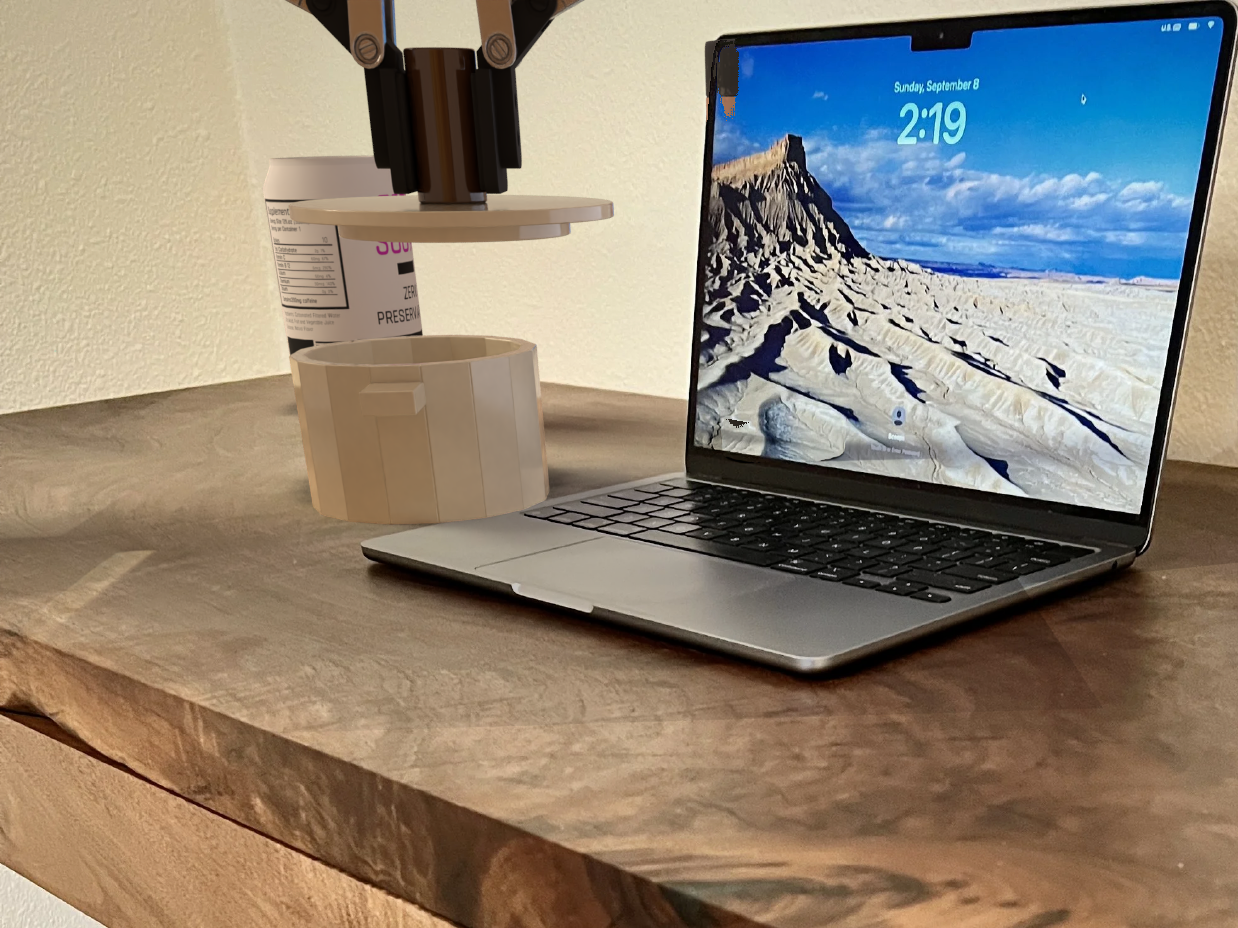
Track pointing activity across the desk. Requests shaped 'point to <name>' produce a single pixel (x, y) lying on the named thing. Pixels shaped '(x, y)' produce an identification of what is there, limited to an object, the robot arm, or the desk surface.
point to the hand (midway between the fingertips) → (451, 186)
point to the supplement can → (337, 257)
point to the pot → (421, 427)
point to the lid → (448, 175)
